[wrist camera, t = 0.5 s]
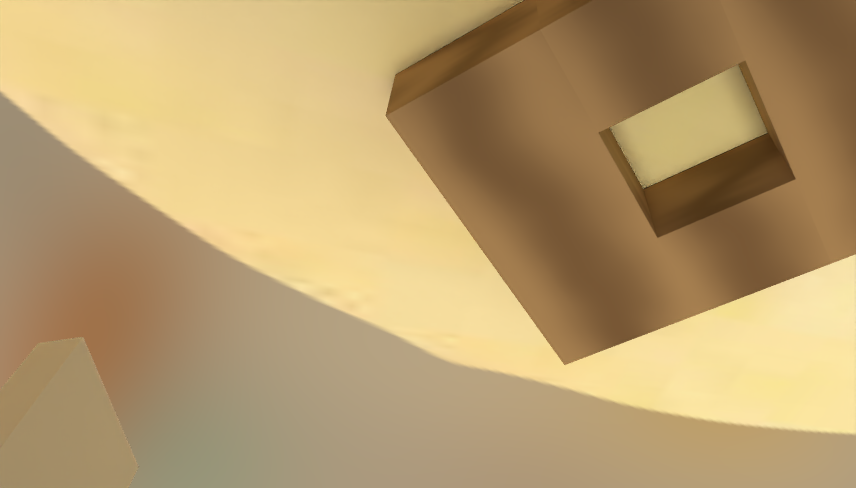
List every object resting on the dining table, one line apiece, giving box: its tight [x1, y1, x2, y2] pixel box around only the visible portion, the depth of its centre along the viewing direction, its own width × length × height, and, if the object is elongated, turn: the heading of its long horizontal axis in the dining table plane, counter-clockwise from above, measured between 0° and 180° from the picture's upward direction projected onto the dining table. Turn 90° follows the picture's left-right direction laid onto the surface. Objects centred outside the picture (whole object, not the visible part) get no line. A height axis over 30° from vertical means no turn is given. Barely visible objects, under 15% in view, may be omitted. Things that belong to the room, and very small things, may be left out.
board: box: [386, 0, 856, 365], centre depth 33 cm, size 20×16×4 cm
